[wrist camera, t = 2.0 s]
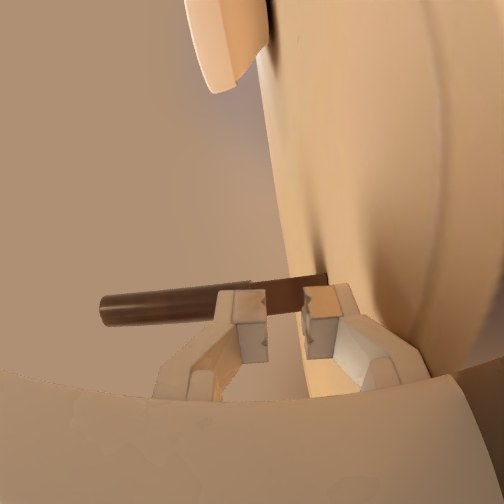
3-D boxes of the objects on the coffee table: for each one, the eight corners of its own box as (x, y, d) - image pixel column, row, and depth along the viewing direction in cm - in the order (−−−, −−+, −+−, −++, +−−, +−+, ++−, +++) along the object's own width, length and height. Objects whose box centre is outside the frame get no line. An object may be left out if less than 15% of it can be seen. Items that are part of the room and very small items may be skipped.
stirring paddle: (326, 270, 19) (89, 296, 20) (331, 310, 19) (93, 330, 20) (315, 272, 24) (119, 294, 25) (319, 304, 24) (123, 323, 25)
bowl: (257, 2, 33) (209, 9, 34) (249, -96, 14) (180, -85, 14) (279, 111, 35) (221, 119, 35) (287, 10, 15) (179, 25, 15)
